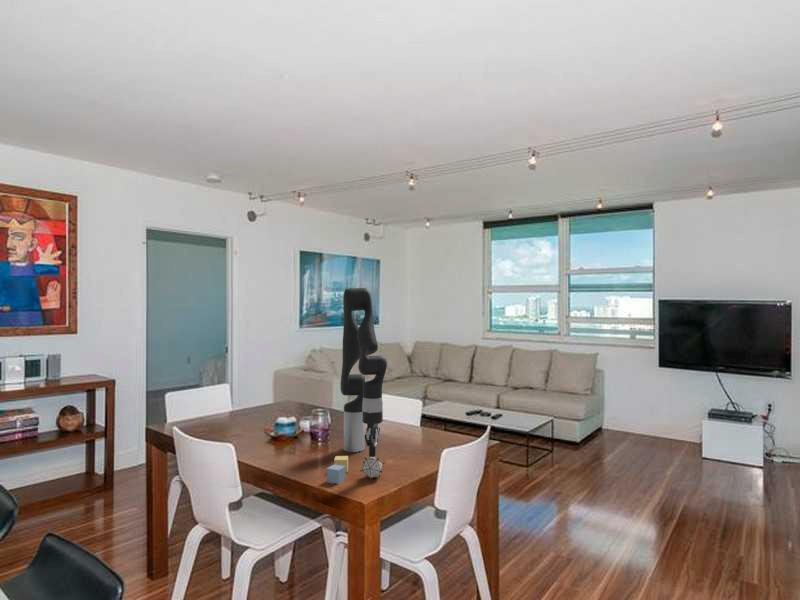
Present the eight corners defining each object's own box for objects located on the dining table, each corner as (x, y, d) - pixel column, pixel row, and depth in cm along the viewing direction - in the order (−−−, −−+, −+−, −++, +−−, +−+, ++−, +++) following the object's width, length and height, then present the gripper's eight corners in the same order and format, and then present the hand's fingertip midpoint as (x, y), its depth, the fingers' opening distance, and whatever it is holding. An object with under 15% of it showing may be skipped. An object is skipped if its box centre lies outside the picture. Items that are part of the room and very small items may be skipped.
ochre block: (335, 468, 193) (335, 456, 194) (348, 468, 194) (348, 455, 194) (334, 473, 188) (334, 460, 189) (347, 473, 189) (347, 459, 189)
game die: (368, 489, 182) (352, 469, 180) (372, 473, 190) (357, 454, 187) (387, 480, 179) (372, 459, 177) (391, 464, 187) (376, 445, 185)
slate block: (333, 478, 183) (333, 464, 183) (345, 479, 181) (345, 466, 181) (326, 482, 179) (326, 468, 179) (338, 484, 177) (338, 470, 177)
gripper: (368, 405, 191) (367, 450, 190) (357, 412, 178) (357, 461, 178) (386, 406, 189) (386, 451, 189) (377, 413, 176) (377, 462, 176)
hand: (372, 456), depth 183 cm, fingers closed
